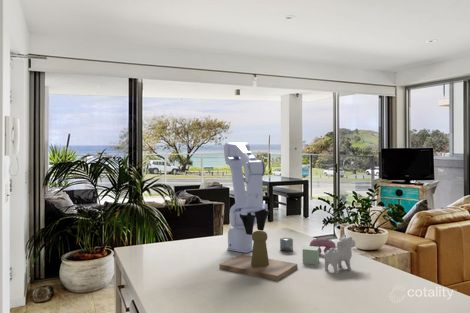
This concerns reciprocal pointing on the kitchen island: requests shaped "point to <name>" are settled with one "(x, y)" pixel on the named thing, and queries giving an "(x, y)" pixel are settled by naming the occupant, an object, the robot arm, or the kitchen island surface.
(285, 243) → the grey domed cylinder
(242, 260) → the walnut board
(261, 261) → the olive peg
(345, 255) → the dog figurine
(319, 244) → the pink toy figurine
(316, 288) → the kitchen island surface
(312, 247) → the sage block
